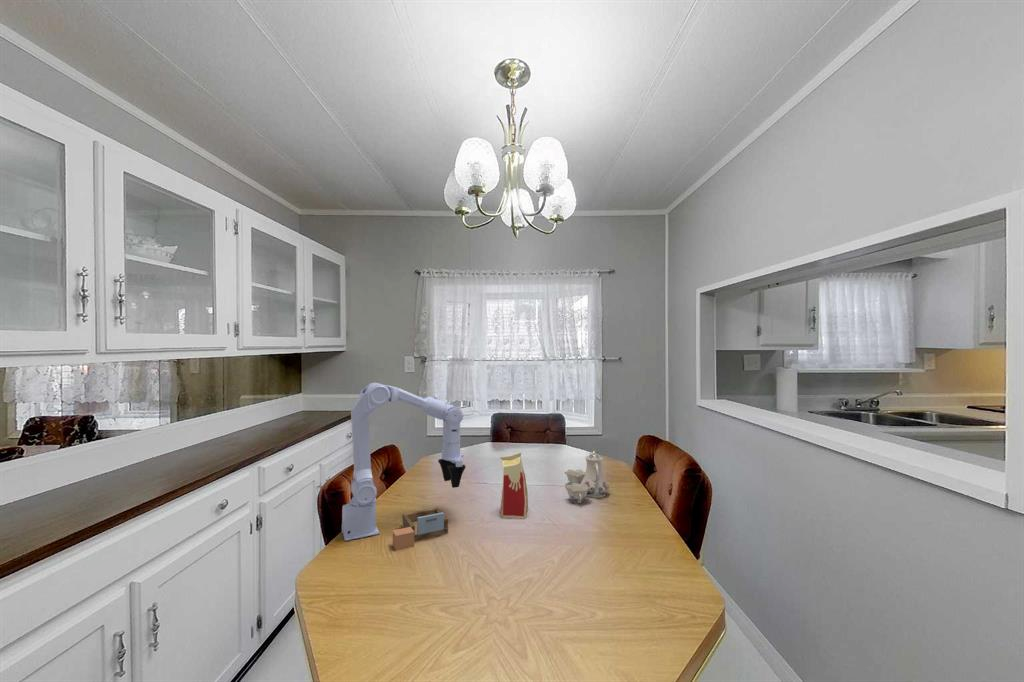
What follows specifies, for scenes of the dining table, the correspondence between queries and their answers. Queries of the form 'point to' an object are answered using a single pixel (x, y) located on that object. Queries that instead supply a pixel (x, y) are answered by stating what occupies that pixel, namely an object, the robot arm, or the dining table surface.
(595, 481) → the chinaware
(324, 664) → the dining table surface
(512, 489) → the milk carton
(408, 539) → the orange brown block
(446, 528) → the crate
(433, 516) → the panel
